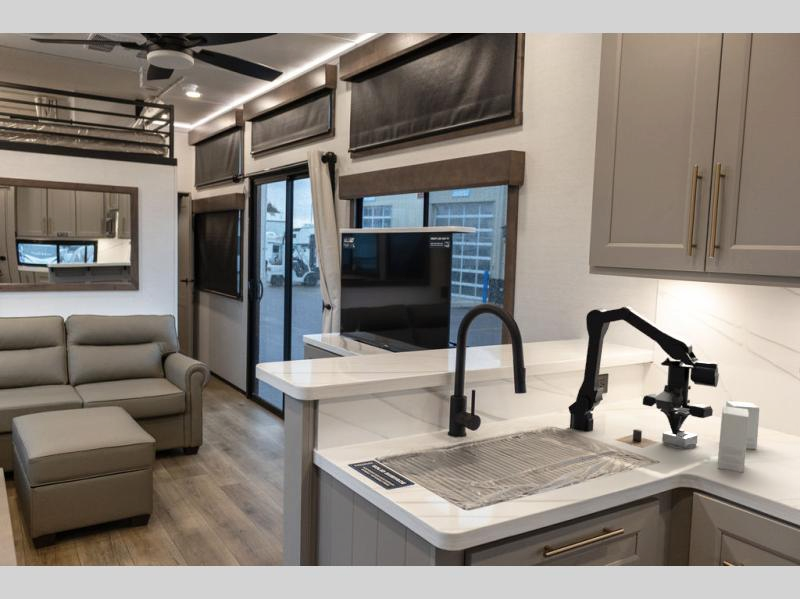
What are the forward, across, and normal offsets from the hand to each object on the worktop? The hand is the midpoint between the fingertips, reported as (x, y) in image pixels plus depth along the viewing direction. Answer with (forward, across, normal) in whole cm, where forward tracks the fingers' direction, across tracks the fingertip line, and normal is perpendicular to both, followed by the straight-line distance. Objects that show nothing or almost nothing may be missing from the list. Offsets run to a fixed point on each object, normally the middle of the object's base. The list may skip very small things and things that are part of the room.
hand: (674, 434), depth 186 cm
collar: (+3, 0, +3) cm, 4 cm away
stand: (+4, -9, -5) cm, 11 cm away
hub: (+4, 0, +3) cm, 5 cm away
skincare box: (+5, +17, -1) cm, 18 cm away
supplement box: (+5, +9, +22) cm, 24 cm away
